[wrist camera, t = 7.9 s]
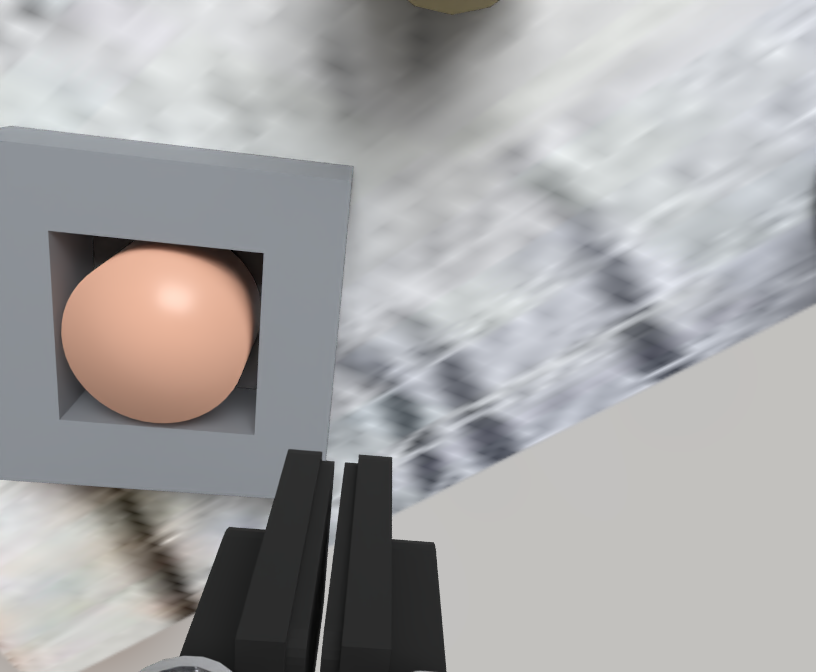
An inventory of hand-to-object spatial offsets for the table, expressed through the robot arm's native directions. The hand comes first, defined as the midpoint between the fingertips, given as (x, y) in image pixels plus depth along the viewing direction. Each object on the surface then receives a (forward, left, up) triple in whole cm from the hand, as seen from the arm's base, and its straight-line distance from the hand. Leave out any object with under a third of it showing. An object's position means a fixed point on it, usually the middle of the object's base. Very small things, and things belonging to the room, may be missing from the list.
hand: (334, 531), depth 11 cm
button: (+8, +5, -25) cm, 27 cm away
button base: (+8, +5, -25) cm, 27 cm away
